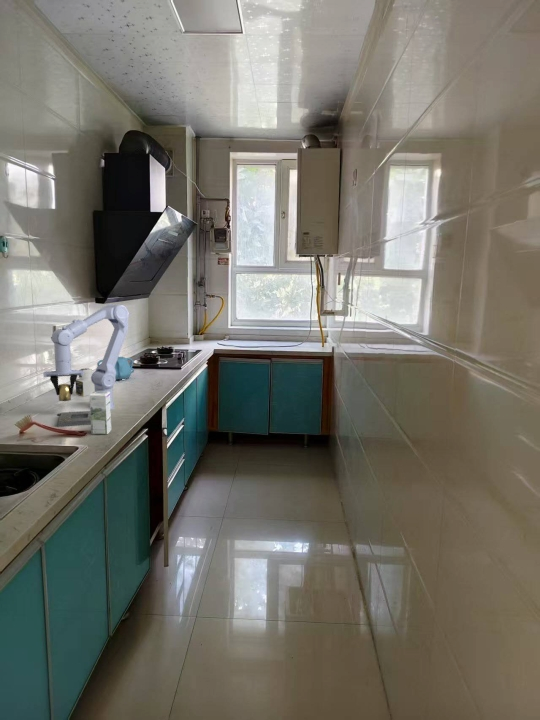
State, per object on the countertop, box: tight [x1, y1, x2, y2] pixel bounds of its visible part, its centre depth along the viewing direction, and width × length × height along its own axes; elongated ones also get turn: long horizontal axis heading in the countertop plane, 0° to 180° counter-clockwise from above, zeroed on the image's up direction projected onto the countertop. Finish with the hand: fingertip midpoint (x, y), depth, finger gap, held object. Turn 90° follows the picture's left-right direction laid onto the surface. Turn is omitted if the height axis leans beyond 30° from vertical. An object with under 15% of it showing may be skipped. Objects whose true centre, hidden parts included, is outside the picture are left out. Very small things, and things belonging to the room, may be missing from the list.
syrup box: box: [89, 392, 112, 435], centre depth 181 cm, size 6×6×14 cm
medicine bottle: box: [75, 368, 95, 397], centre depth 239 cm, size 7×7×12 cm
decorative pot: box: [96, 356, 135, 381], centre depth 274 cm, size 16×16×14 cm
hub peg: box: [58, 383, 72, 402], centre depth 201 cm, size 4×4×6 cm
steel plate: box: [57, 410, 91, 428], centre depth 195 cm, size 14×14×2 cm
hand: (64, 394), depth 202 cm, fingers closed on hub peg, 4 cm apart
